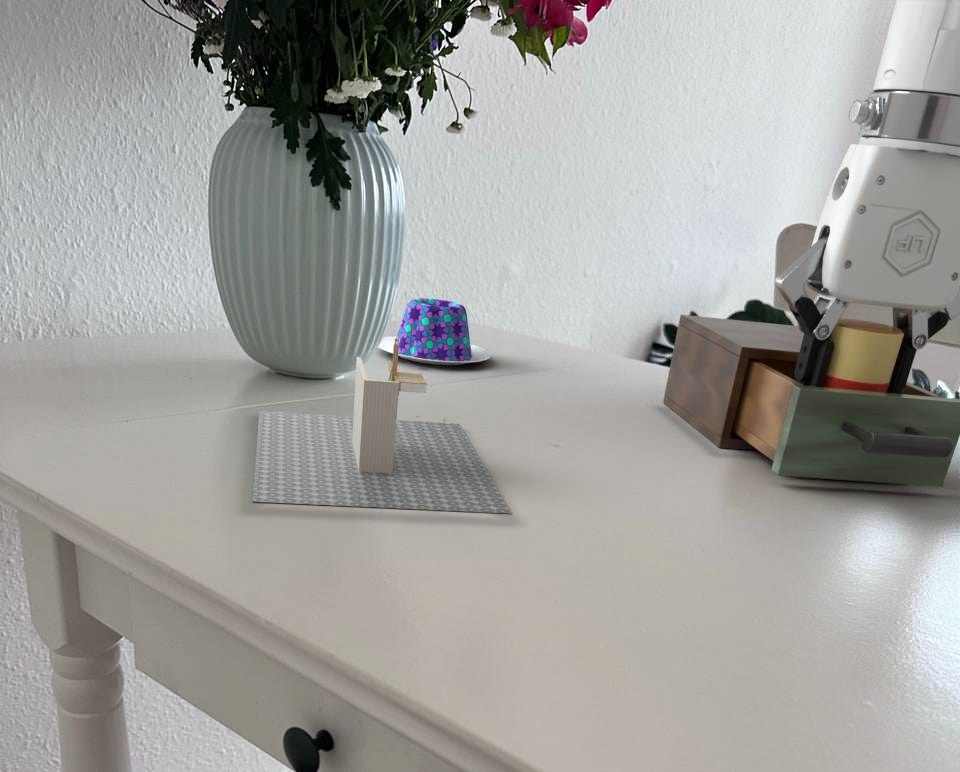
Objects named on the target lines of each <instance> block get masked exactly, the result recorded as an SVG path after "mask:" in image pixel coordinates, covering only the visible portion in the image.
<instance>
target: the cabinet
mask: <svg viewBox="0 0 960 772" xmlns="http://www.w3.org/2000/svg"><path fill="white" fill-rule="evenodd" d="M803 336H804V333H802V332H801V331H800V329H799V325H792V324H791V325H789V324H779V323H770V322H769V323H768V322H759V321H750V320H739V319H731V318H719V317H708V316H700V315H699V316H698V315H688V314H680V316H679V321H678V326H677V331H676V335H675V339H674V346H673V349H672V355H671V360H670V365H669V369H668V375H667V381H666V384H665V391H664V396H663V399H662V403H663V404H664V405H665V406H667V408H669V409H670V410H671V411H673V412H674V413H675V414H676V415H678V416H679V417H680V418H681V419H683V420H684V421H685V422H687V424H689V425H690V426H691V427H692V428H693V429H695V430H696V431H698V432H699V433H700V435H702V436H704V437H705V438H706V439H707V440H709V441H710V442H711V443H712V444H714V445H715V446H716V447H717V448H718V449H731V450H744V451H745V450H746V451H759V450H757V449H756V448H755V447H753V446H752V445H751V444H749V443H748V442H747V441H745V440H744V439H743V438H741V437H740V436H738V435H737V434H736V433H734V432H733V431H732V427H733V423H734V419H735V414H736V410H737V406H738V402H739V398H740V393H741V389H742V385H743V381H744V376H745V372H746V368H747V364H748V359H749V358H756V359H767V360H778V361H789V362H797V359H798V355H799V352H800V348H801V344H802V340H803ZM759 452H760V451H759Z"/></svg>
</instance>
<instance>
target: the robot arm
mask: <svg viewBox="0 0 960 772" xmlns="http://www.w3.org/2000/svg"><path fill="white" fill-rule="evenodd" d="M880 57H881V58H880V61H879V65H878V69H877V73H876V77H875V81H874V84H873V88H872V92H870V93H869V94H868V97H867V99H865V100H859V99H855V100H854V101H853V103H852V104H851V106H850V108H849V111H848V112H849V113H848V121H849V122H850V123H856V124H858V125H859V126H860V128H859V133H858V135H859V136H860V138H859V142H858V144H855V143H854V144H853V143H851V144H850V145H849V147H848V149H847V151H846V153H845V155H844V157H843V159H842V162H841V164H840V165H839V168H838V169H837V173H836V175H835V177H834V179H833V182H832V185H831V187H830V190H829V193H828V194H827V198H826V200H825V203H824V206H823V208H822V212H821V214H820V217H819V221H818V224H817V227H816V230H815V233H814V236H813V240H812V244H811V246H810V247H809V248H808V249H807V250H806V251H804V252H803V253H802V254H801V255H800V256H799V257H797V259H795V260H794V261H793V262H792V263H791V264H789V265H788V266H787V267H786V268H785V269H784V270H782V271H781V272H780V273H779V274H778V275H777V276H776V277H775V279H774V284H775V287H776V288H777V290H778V291H779V293H780V295H781V296H782V298H783V299H784V301H785V302H786V304H787V305H788V307H789V310H790V312H791V313H792V315H793V317H794V319H795V320H796V322H797V324H798V326H799V329H800V331H801V332H802V333H804V336H803V340H802V344H801V348H800V352H799V355H798V359H797V363H796V367H795V371H794V376H795V379H796V380H795V381H796V382H798V383H800V384H802V385H803V386H812V387H823V386H824V382H825V378H826V375H827V371H828V367H829V364H830V360H831V357H832V353H833V349H834V342H833V341H830V340H829V337H830V334H831V332H832V331H833V329H834V327H835V326H836V324H837V323H838V321H839V319H840V318H842V316H843V314H844V313H845V312H846V309H847V308H848V307H849V305H850V304H851V303H852V304H858V305H859V304H860V305H867V306H878V307H887V308H892V327H896V328H898V329H900V330H902V332H903V333H904V336H903V339H902V343H901V346H900V349H899V352H898V356H897V359H896V362H895V366H894V369H893V372H892V375H891V379H890V384H889V388H888V391H887V393H893V394H901V392H902V389H903V388H904V387H905V385H906V383H907V382H908V379H909V376H910V373H911V369H912V368H913V364H914V361H915V357H916V354H917V350H922V349H923V348H925V347H926V346H927V344H928V342H929V339H931V338H932V337H934V336H935V335H936V334H937V333H939V332H940V331H941V330H943V329H944V328H945V327H946V326H947V325H948V323H949V322H950V321H953V320H954V319H956V317H958V316H959V315H960V0H895V3H894V8H893V11H892V15H891V19H890V22H889V27H888V30H887V33H886V38H885V42H884V46H883V50H882V53H881V56H880ZM805 285H806V286H807V288H809V289H810V290H812V291H813V292H816V294H815V297H814V298H813V299H812V298H810V296H809V295H808V293H807V291H806V289H805Z"/></svg>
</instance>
